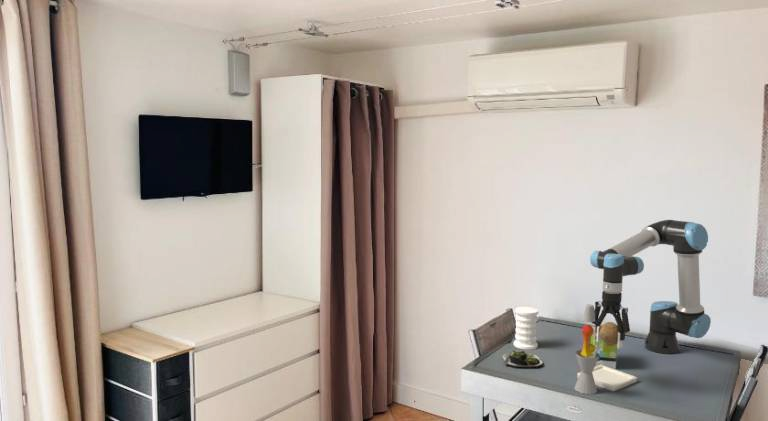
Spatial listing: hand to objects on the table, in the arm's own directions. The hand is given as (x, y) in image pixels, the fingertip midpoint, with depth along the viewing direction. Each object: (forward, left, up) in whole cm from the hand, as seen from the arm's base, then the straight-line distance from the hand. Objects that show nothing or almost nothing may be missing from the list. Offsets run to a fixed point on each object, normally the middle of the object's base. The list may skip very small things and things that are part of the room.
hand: (609, 344), depth 246 cm
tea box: (-16, -13, -16) cm, 26 cm away
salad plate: (+14, -34, -16) cm, 40 cm away
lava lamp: (+16, +1, -16) cm, 23 cm away
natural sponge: (0, 0, -1) cm, 1 cm away
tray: (0, 0, -15) cm, 15 cm away
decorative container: (-5, -48, -16) cm, 51 cm away
